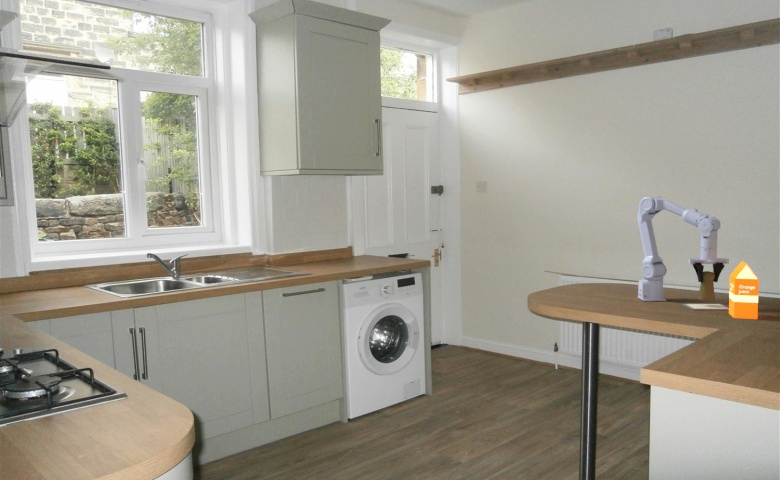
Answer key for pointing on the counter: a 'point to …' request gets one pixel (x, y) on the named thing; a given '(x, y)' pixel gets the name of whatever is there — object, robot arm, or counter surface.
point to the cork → (707, 287)
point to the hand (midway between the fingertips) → (707, 281)
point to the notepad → (706, 306)
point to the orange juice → (743, 293)
